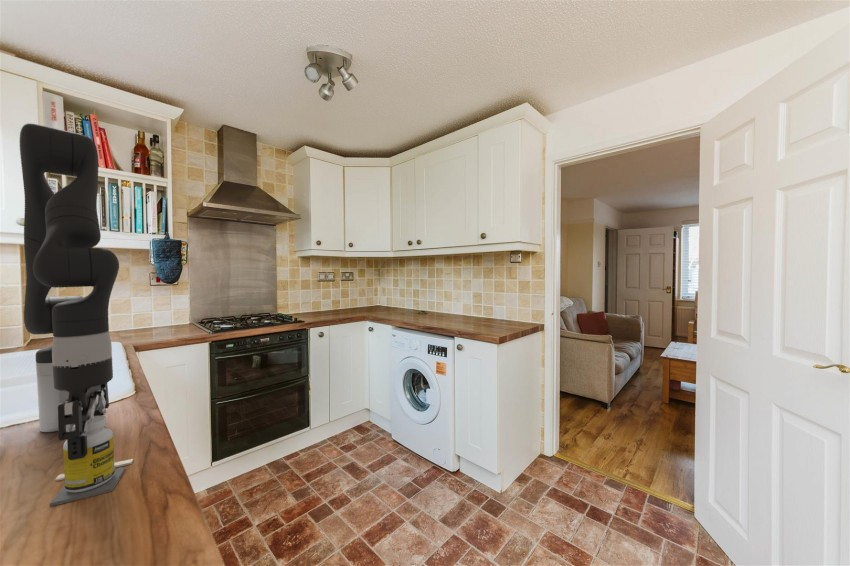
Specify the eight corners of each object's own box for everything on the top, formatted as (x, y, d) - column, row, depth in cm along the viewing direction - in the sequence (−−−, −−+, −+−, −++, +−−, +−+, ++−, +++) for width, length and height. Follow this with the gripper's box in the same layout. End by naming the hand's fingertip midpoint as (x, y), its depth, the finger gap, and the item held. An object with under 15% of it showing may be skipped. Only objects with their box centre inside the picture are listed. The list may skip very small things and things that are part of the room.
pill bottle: (83, 496, 58) (80, 430, 57) (55, 492, 59) (51, 427, 59) (124, 474, 64) (121, 414, 64) (97, 470, 66) (94, 412, 65)
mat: (69, 481, 63) (69, 479, 63) (125, 469, 67) (125, 466, 67) (49, 506, 56) (49, 503, 56) (112, 490, 60) (112, 488, 60)
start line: (59, 476, 65) (59, 474, 65) (133, 460, 70) (133, 458, 70) (55, 481, 63) (55, 478, 63) (131, 464, 69) (131, 462, 69)
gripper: (72, 352, 65) (76, 434, 66) (32, 372, 52) (37, 473, 53) (122, 347, 68) (126, 425, 69) (96, 365, 56) (101, 460, 57)
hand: (87, 446), depth 61 cm, fingers open, 8 cm apart
